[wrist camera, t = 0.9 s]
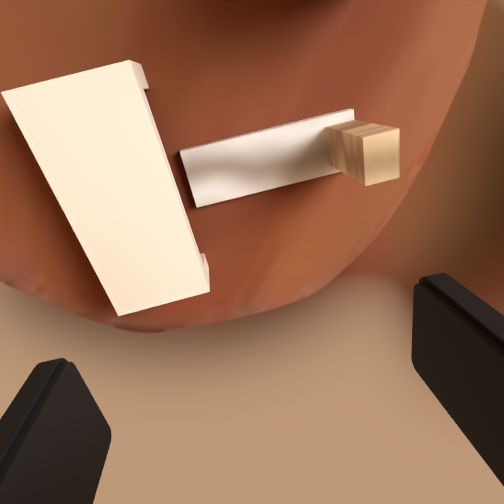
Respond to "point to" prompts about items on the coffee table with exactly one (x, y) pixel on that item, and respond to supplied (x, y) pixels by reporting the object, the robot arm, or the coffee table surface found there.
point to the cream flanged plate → (113, 182)
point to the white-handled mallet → (292, 156)
